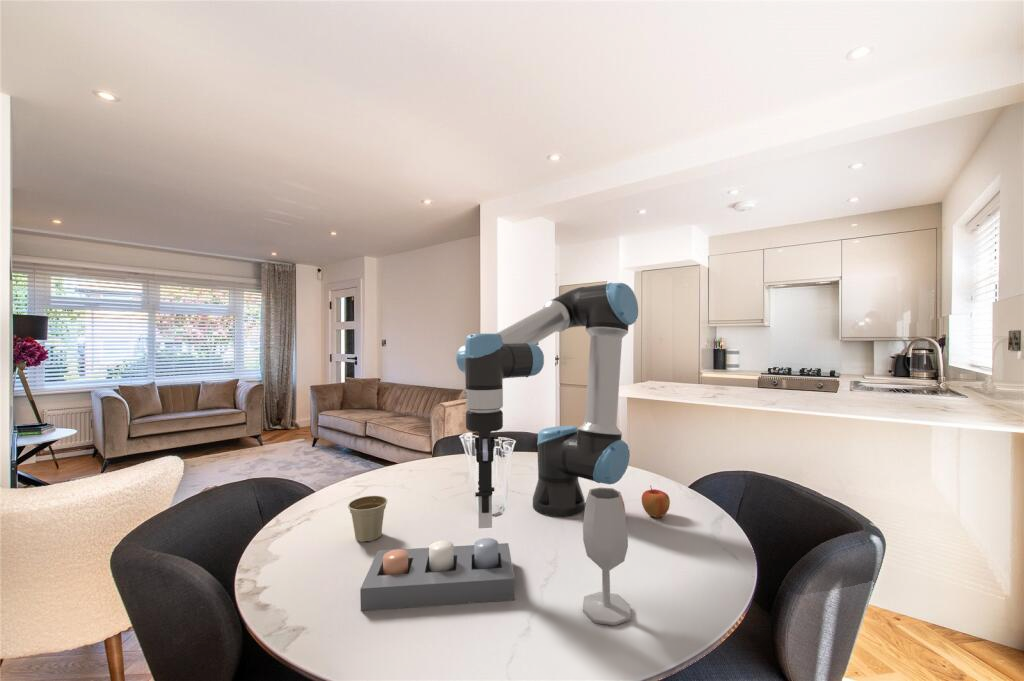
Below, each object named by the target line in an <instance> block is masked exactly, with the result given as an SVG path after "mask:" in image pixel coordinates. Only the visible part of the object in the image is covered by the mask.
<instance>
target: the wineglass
mask: <svg viewBox="0 0 1024 681" xmlns="http://www.w3.org/2000/svg"><path fill="white" fill-rule="evenodd" d="M583 515H584V516H583V521H582V522H583V524H582V538H583V539H582V541H583V546H584V549H585V552H586V556H587V557H588V558H589V559H590V560H592V562H593V563H594V564H595V565H597V567H599V568H600V569H601V573H602V575H601V576H602V583H601V585H602V586H601V587H602V590H601V591H597V592H594V593H591V594H588V595H585V596H583V602H582V609H581V610H582V612H583V613H584V614H585V615H586V616H587V618H589V619H590V620H591V622H593V623H594V624H600V625H606V626H607V625H608V626H617V625H621V624H624V623H626V622H629V621H631V619H632V615H631V613H632V612H631V604H630V603H629V602H628V601H627V600H626V599H624V598H623V597H622V596H621V595H620V594H618V593H611V582H610V581H611V575H610V573H611V572H610V571H612V570H613V569H614V568H616V567H618V566H619V565H620V564H621V565H622V563H624V562H625V559H626V556H627V552H628V546H629V535H628V532H629V530H628V529H629V528H628V519H627V513H626V506H625V502H624V499H623V496H622V493H621V491H620V490H619V491H618V490H617V489H614V488H613V487H596V488H595V487H594V488H590V489H589V490H588V494H587V497H586V502H585V509H584V514H583Z"/></svg>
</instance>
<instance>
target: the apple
mask: <svg viewBox="0 0 1024 681" xmlns="http://www.w3.org/2000/svg"><path fill="white" fill-rule="evenodd" d="M649 487H650V489H648V490H645V491H644V492H643V493H642V495H641V504H642V508H643V509H644V511H645V512H646V513H647V515H649V516H650V517H651V516H652V517H655V518H656V519H659V518H661V517H662V516H665V515H666V514H667V513H668V511H669V509H670V506H671V505H670V504H671V500H670V497H669V495H668V494H667V493H666V492H664V491H662V490H660V489H656V488H655V489H653V488H652V485H649Z"/></svg>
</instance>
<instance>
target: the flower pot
mask: <svg viewBox="0 0 1024 681" xmlns="http://www.w3.org/2000/svg"><path fill="white" fill-rule="evenodd" d="M388 502H389V501H388V498H387V497H386V496H382V495H366V496H365V495H364V496H360V497H358V498H357V497H356V498H355V499H353V500H351V501H350V502H349V503H348V504H347V508H348V509H349V513H350V514H351V519H352V524H353V532H354V538H355V540H356V541H357V542H361V543H364V542H366V541H367V542H373V541H376V540H378V539H380V537H381V536H382V533H383V532H382V531H383V524H384V523H383V522H384V516H385V514H384V513H385V510H386V506H387V504H388Z"/></svg>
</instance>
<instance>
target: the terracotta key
mask: <svg viewBox="0 0 1024 681" xmlns="http://www.w3.org/2000/svg"><path fill="white" fill-rule="evenodd" d="M391 550H392V551H389V552H387V553H386V554H384V556H383V575H396V574H408V552H407V551H405V550H401V548H400V549H398V548H397V549H391Z"/></svg>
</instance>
